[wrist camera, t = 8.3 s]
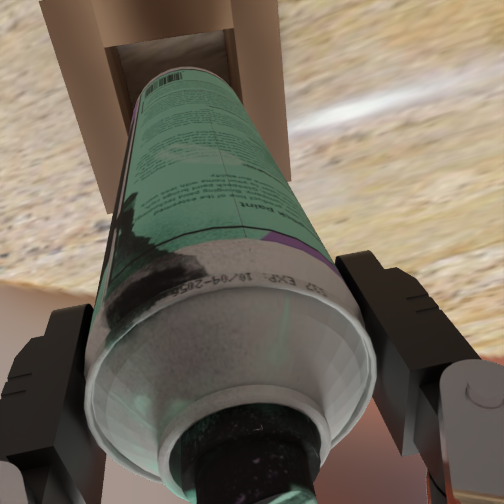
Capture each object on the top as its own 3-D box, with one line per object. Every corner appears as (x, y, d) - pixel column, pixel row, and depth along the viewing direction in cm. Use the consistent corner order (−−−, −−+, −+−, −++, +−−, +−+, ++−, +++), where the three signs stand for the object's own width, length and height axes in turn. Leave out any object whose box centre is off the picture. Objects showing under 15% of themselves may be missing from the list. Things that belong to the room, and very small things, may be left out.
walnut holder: (254, -33, 29) (274, -33, 24) (272, 150, 35) (291, 180, 30) (60, -5, 28) (38, 1, 23) (115, 178, 35) (107, 214, 29)
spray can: (114, 145, 23) (-13, 624, 6) (163, 42, 21) (167, 341, 4) (211, 192, 25) (308, 641, 8) (264, 102, 23) (531, 460, 6)
